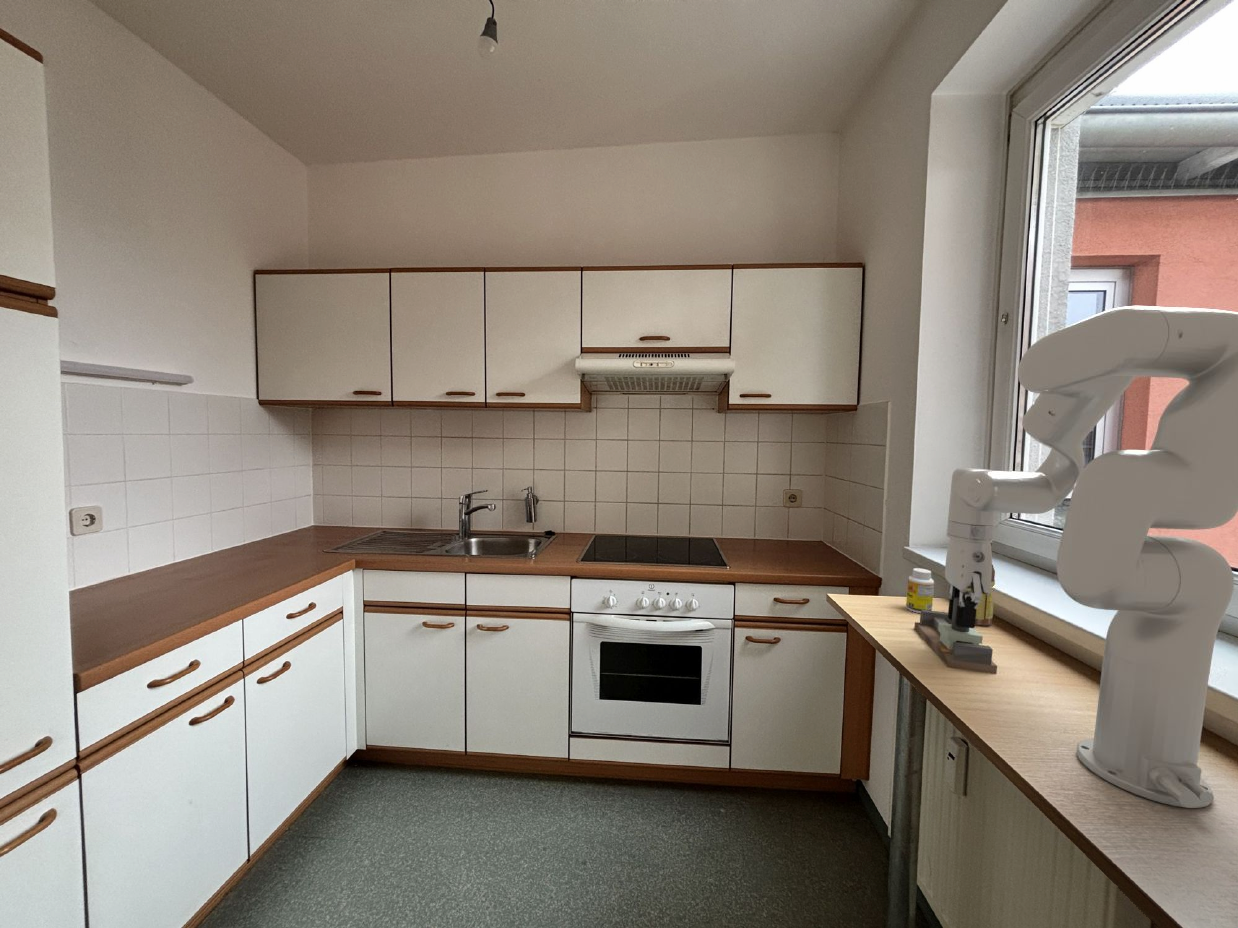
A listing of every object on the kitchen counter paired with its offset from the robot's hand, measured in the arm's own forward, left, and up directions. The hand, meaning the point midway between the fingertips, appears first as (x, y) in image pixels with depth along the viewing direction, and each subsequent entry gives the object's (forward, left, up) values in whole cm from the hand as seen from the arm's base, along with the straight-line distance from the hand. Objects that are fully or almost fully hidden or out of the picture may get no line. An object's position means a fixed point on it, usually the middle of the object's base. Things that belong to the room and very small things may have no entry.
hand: (960, 622), depth 105 cm
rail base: (+3, 0, -7) cm, 7 cm away
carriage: (0, 0, -5) cm, 5 cm away
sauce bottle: (+23, -12, -7) cm, 27 cm away
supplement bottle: (+27, -1, -7) cm, 28 cm away
